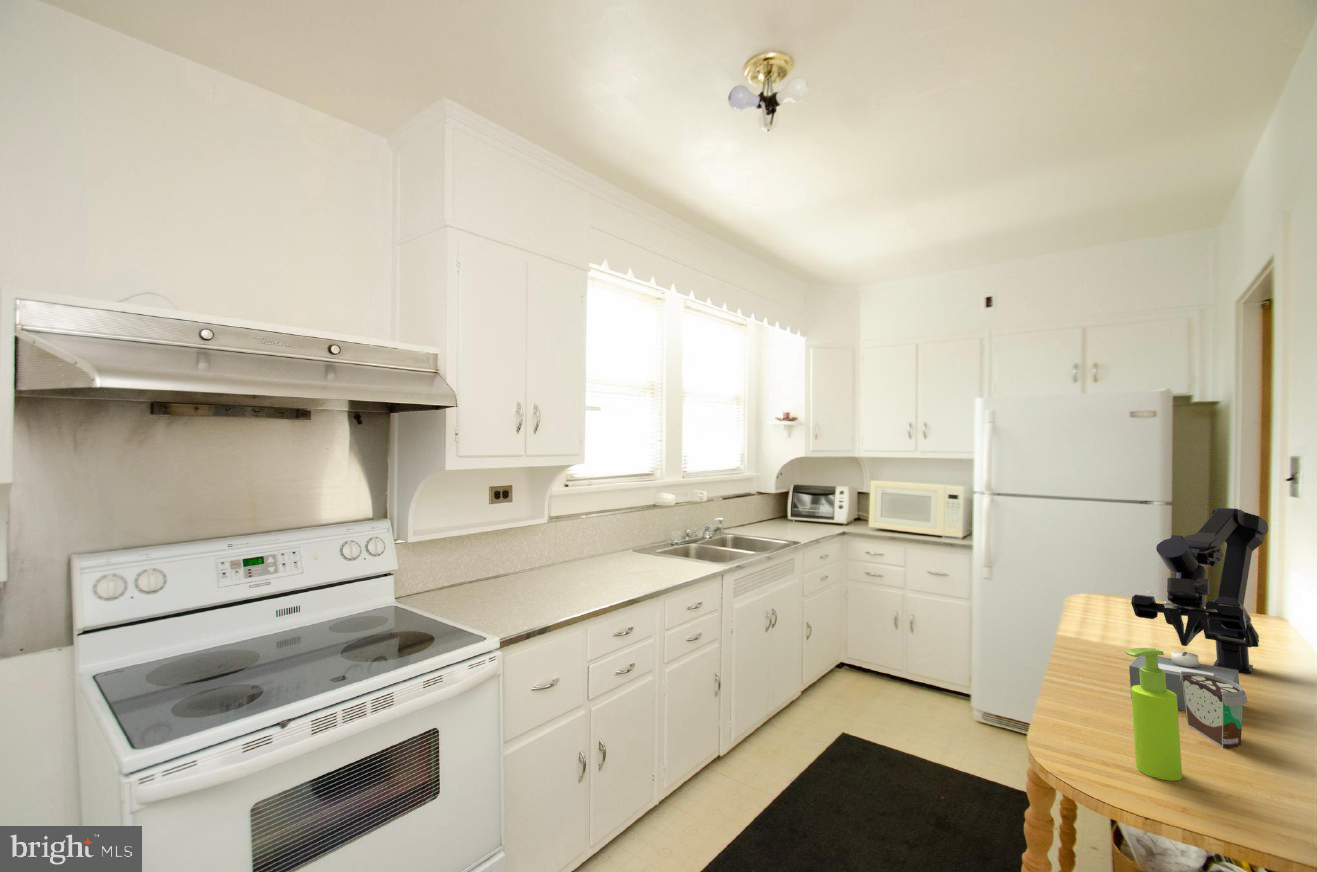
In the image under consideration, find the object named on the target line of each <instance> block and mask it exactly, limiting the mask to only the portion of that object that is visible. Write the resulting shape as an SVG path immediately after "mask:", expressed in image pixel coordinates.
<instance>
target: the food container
mask: <svg viewBox="0 0 1317 872" xmlns="http://www.w3.org/2000/svg"><path fill="white" fill-rule="evenodd" d="M1180 681H1182V685H1183V692H1184V700H1185V708H1186V711H1185V713H1186V721H1187V727H1189V728H1191V729H1193V730H1194V731H1196V732H1198V733H1199V734H1200V735H1202V736H1204V737H1205V738H1207V739H1208V740H1210V741H1211V742H1213V743H1214V744H1216V745H1217V746H1219V747H1220V748H1222V749H1235V748H1239V747H1241V746H1242V734H1243V733H1242V731H1243V730H1242V729H1243V728H1242V727H1243V706H1244V705H1246V704H1248V701H1249V700H1248V697H1247V695H1246V691H1245V690H1244V689H1243V687H1242V685H1240V683H1239V684H1237V683H1235V682H1232V681H1230V680H1227V679H1224V678H1220V677H1216V676H1212V675H1207V674H1202V673H1195V672H1185V671H1181V674H1180Z"/></svg>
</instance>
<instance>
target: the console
mask: <svg viewBox="0 0 1317 872" xmlns="http://www.w3.org/2000/svg"><path fill="white" fill-rule="evenodd" d="M1128 666H1129V683H1130V685H1129V686H1130V688H1131V687H1132V686H1135V685H1140V673H1139V668H1140V667H1143V666H1145V655H1144V656H1139V657H1135V659H1134V660H1133V661H1132V662H1131V663H1130V664H1129V665H1128ZM1158 668H1160V669H1162V670H1164V671H1165V675H1166V689H1167V690H1170V691H1172V692H1174V693H1175V694H1176V695H1177V706H1178V710H1180V711H1184V712H1186V708H1185V700H1184V692H1183V685H1182V681H1180V674H1181V671H1185V672H1195V673H1202V674H1207V675H1212V676H1216V677H1220V678H1224V679H1227V680H1230V681H1232V682H1235V683H1237V684H1239V685H1240V676H1239V674H1240V673H1239V671H1238V670H1235V669H1229V668H1223V667H1217V666H1214V665H1211V664H1204V663H1200V662H1199V666H1198V667H1186V666H1181V665H1177V664H1174V663H1172V658H1171V657H1164V656H1161V655H1158ZM1130 700H1132V693H1131V692H1130Z"/></svg>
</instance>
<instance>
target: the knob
mask: <svg viewBox="0 0 1317 872" xmlns="http://www.w3.org/2000/svg"><path fill="white" fill-rule="evenodd" d="M1170 653H1171V655H1170V658H1171V659H1172V663H1174V664H1177V665H1181V666H1186V667H1198V666H1199V663H1200V661H1199V655H1198V654H1195V653H1193V652H1188V651H1184V650H1183V651H1181V650H1172V651H1170Z"/></svg>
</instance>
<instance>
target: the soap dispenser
mask: <svg viewBox="0 0 1317 872" xmlns="http://www.w3.org/2000/svg"><path fill="white" fill-rule="evenodd" d="M1124 654H1126V655H1128V656H1131V657H1134V658H1137V657H1139V656H1144V655H1145V666H1143V667H1140V668H1139V673H1140V685H1135V686H1132V687H1131V686H1130V694H1131V693H1132V699H1131V706H1132V721H1133V723H1132V724H1133V737H1134V739H1133V740H1134V751H1135V753H1134V754H1135V767H1136V769H1137V770H1138V771H1139V772H1141V773H1143V774H1144V775H1146V776H1149V777H1152V778H1155V779H1158V780H1163V781H1173V782H1174V781H1180V780H1182V778H1183V768H1182V753H1181V740H1180V739H1181V737H1180V722H1179V721H1180V720H1179V711H1178V710H1179V709H1178V706H1177V695H1176V694H1175V693H1174V692H1172V691H1170V690H1167V689H1166V675H1165V671H1164V670H1162V669H1160V668H1158V656H1165V654H1164V651H1162V650H1161V649H1156V648H1153V647H1136V648H1131V649H1127V650H1125V651H1124Z"/></svg>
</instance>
